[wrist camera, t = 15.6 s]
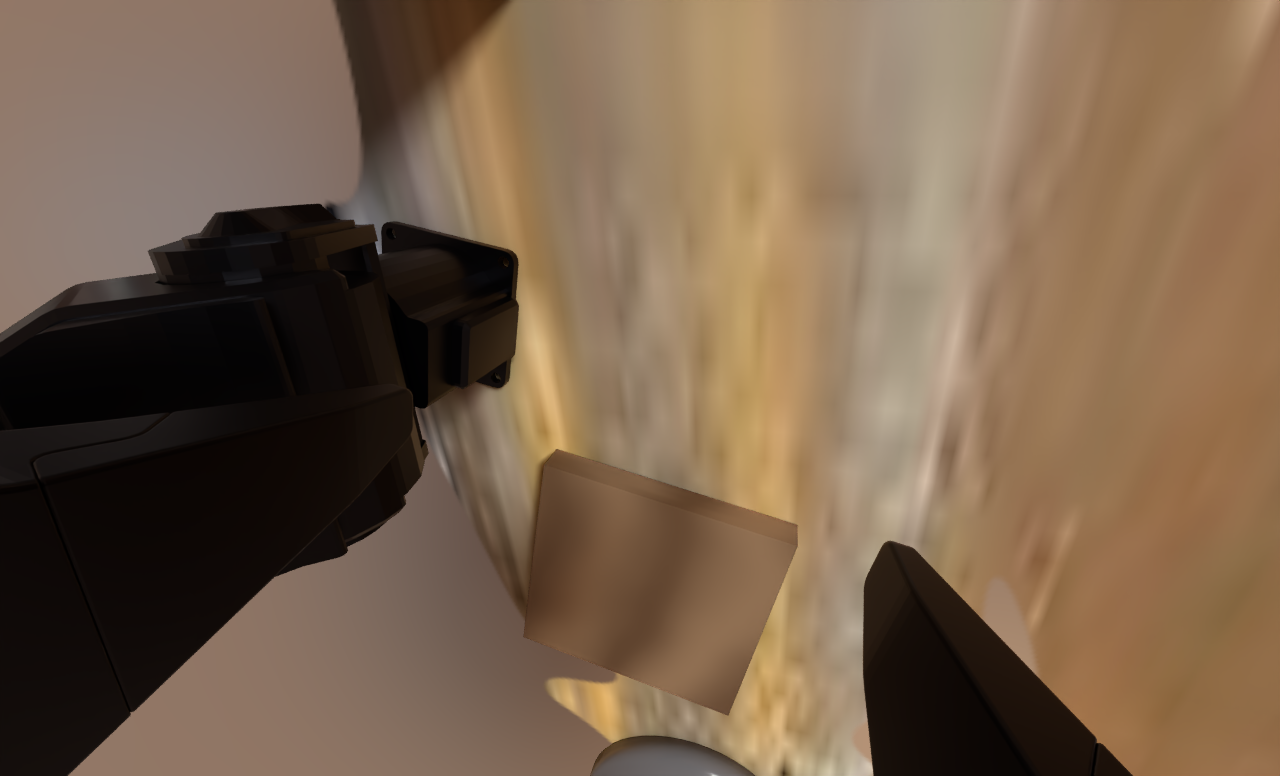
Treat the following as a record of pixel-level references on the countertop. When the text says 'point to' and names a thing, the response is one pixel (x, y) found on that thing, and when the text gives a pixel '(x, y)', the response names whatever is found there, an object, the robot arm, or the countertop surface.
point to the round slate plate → (663, 759)
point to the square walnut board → (653, 578)
